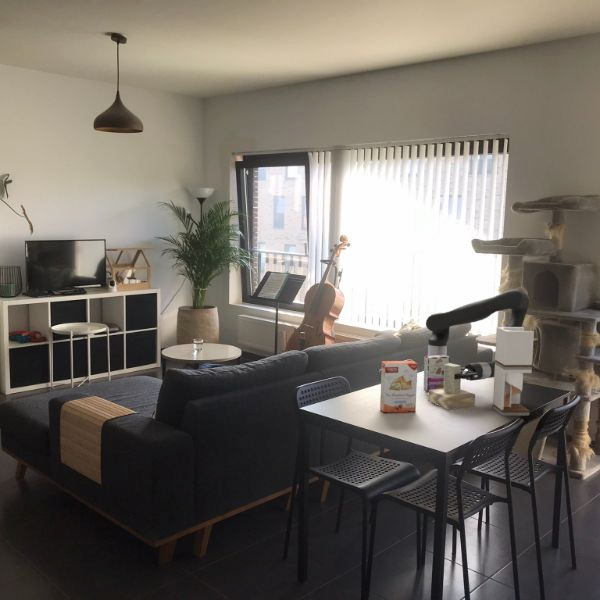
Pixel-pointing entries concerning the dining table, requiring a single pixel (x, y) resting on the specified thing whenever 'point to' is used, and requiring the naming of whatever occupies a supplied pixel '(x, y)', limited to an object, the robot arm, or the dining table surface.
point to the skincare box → (451, 378)
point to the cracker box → (398, 386)
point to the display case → (511, 368)
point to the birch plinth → (451, 398)
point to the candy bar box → (434, 371)
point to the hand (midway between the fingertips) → (448, 374)
